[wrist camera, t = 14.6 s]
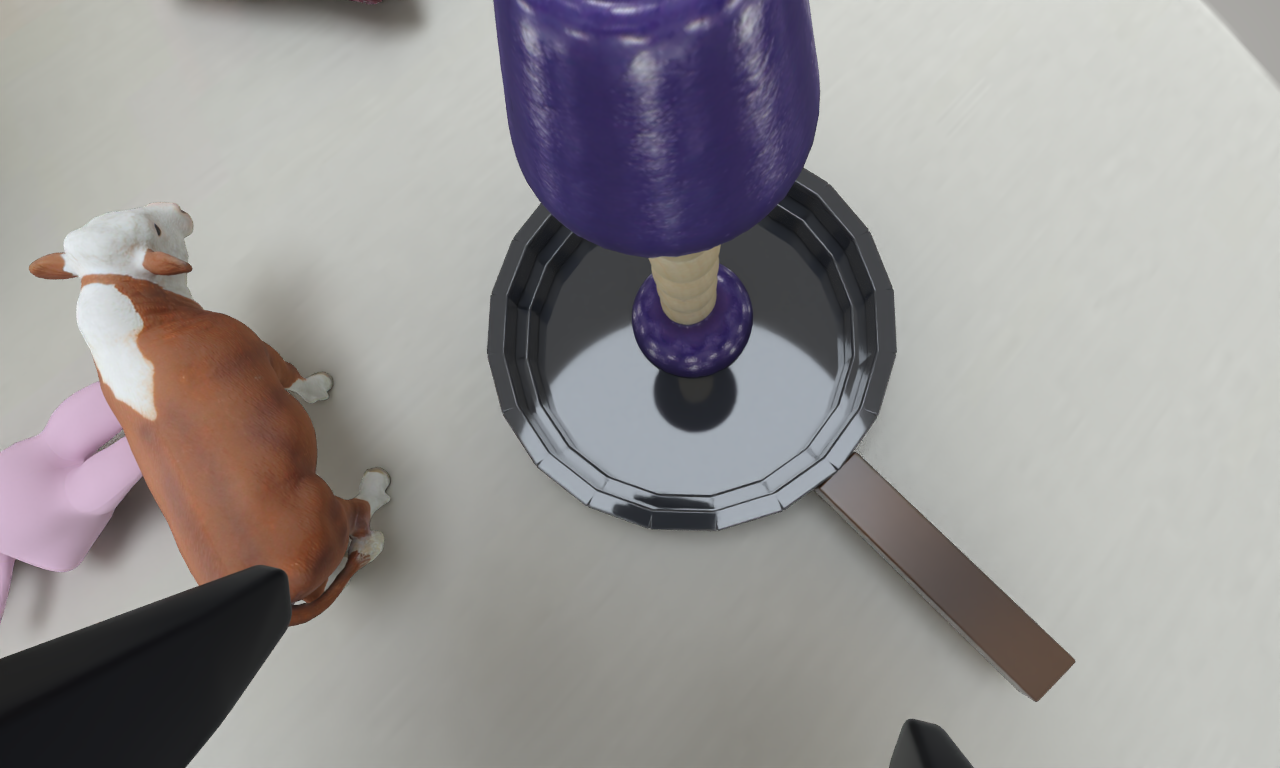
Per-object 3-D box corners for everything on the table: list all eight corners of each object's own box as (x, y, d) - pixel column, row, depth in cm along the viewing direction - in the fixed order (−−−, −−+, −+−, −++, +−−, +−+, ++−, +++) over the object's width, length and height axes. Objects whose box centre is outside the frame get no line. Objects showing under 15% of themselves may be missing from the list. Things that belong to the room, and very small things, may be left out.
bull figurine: (306, 255, 25) (118, 141, 17) (439, 572, 22) (289, 614, 14) (208, 307, 25) (-25, 218, 17) (329, 630, 22) (118, 704, 14)
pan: (880, 530, 21) (907, 536, 18) (503, 521, 22) (475, 524, 20) (864, 172, 23) (886, 128, 20) (523, 182, 25) (499, 143, 22)
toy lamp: (768, 380, 22) (953, 21, 5) (635, 407, 22) (427, 147, 6) (738, 250, 23) (817, -392, 6) (610, 278, 23) (371, -264, 7)
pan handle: (812, 489, 20) (817, 488, 19) (848, 452, 20) (855, 450, 19) (1019, 692, 18) (1037, 703, 17) (1058, 653, 18) (1077, 661, 17)
